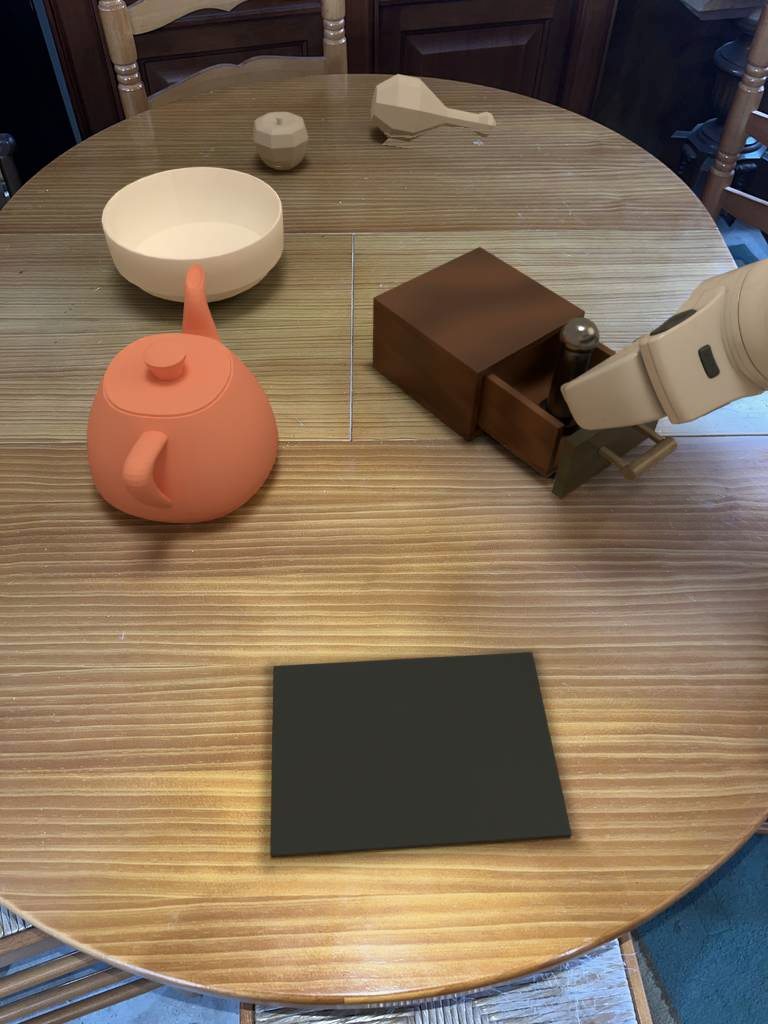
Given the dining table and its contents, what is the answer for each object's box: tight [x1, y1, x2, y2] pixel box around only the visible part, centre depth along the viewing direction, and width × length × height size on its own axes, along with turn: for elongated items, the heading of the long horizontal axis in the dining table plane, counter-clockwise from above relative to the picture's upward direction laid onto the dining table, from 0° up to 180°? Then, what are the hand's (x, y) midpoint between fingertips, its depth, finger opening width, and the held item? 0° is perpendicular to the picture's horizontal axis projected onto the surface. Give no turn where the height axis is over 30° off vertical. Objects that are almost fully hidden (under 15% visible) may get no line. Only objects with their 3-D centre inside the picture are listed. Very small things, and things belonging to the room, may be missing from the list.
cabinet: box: [372, 246, 586, 443], centre depth 82 cm, size 15×15×9 cm
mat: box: [269, 651, 573, 859], centre depth 58 cm, size 20×14×1 cm
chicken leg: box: [370, 73, 497, 143], centre depth 118 cm, size 8×18×8 cm, turn 94°
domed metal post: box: [539, 317, 601, 436], centre depth 74 cm, size 4×4×12 cm
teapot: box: [86, 264, 279, 524], centre depth 72 cm, size 25×17×13 cm
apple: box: [252, 111, 309, 171], centre depth 112 cm, size 8×8×7 cm
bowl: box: [101, 166, 284, 304], centre depth 93 cm, size 20×20×8 cm
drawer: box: [476, 332, 679, 501], centre depth 76 cm, size 18×13×7 cm
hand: (605, 369), depth 70 cm, fingers open, 8 cm apart
